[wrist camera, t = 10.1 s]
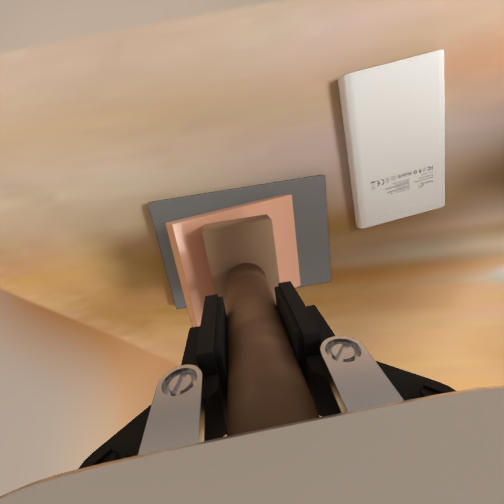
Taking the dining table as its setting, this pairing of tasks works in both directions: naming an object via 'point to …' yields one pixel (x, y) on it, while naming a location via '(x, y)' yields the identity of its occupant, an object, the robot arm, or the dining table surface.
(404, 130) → the external hard drive
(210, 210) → the mat
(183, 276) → the tile
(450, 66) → the dining table surface
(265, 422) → the tool
